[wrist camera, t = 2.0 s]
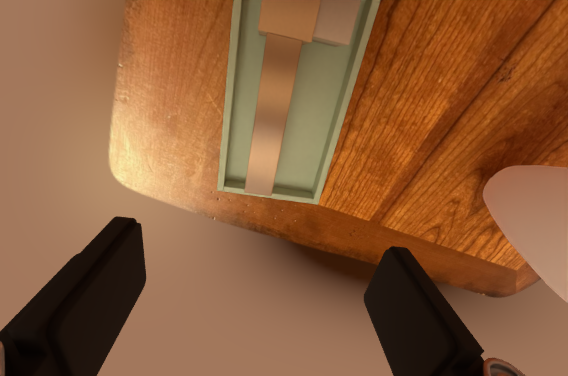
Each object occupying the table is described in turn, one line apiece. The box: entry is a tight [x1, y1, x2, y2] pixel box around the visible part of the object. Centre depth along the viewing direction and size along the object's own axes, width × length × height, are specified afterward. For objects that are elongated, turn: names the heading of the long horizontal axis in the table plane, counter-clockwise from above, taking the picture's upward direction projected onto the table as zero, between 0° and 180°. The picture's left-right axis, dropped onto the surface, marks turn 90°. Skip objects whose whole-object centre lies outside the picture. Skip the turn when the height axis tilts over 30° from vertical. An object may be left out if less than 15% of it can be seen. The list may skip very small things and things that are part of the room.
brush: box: [244, 0, 361, 196], centre depth 19 cm, size 18×6×4 cm, turn 169°
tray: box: [217, 0, 380, 205], centre depth 21 cm, size 10×21×2 cm, turn 169°
